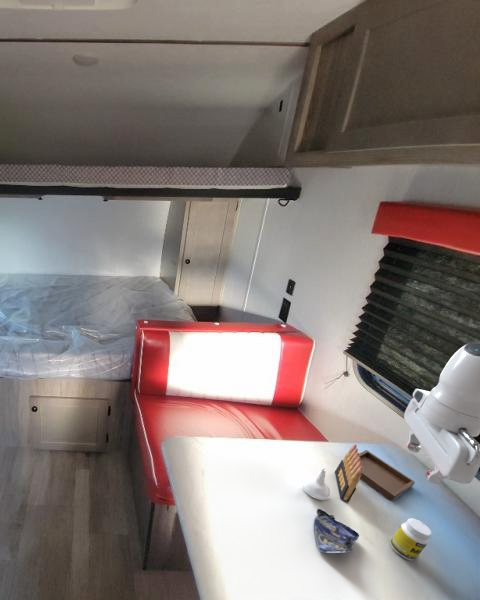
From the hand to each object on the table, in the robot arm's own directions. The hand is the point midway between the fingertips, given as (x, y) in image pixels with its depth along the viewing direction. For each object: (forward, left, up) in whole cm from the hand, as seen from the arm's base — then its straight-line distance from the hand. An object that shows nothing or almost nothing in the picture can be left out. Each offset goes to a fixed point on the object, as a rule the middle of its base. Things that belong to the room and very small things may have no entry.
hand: (420, 464), depth 74 cm
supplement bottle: (-5, 0, -22) cm, 23 cm away
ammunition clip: (+11, -5, -22) cm, 25 cm away
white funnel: (+13, +5, -22) cm, 26 cm away
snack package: (+4, +14, -22) cm, 27 cm away
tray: (+9, -20, -22) cm, 31 cm away
